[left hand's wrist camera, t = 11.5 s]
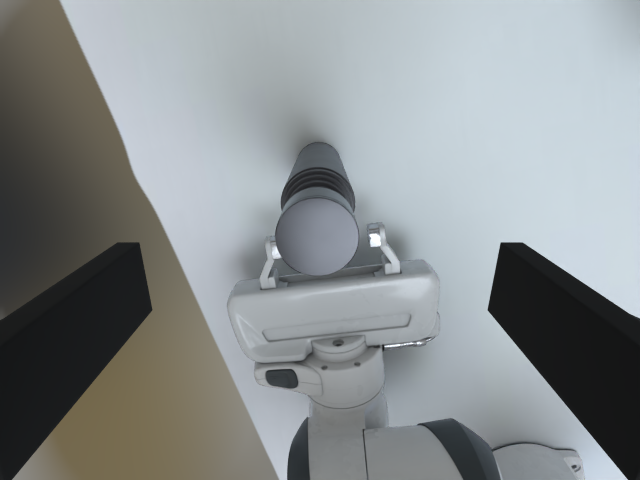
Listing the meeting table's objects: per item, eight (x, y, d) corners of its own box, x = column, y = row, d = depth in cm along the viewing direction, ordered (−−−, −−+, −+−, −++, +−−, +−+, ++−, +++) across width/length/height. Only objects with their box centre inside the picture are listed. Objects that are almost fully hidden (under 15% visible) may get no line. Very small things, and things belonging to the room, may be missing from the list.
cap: (328, 171, 17) (329, 180, 15) (368, 233, 18) (374, 249, 16) (265, 213, 18) (258, 227, 16) (307, 270, 19) (306, 289, 17)
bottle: (325, 133, 35) (331, 166, 15) (349, 171, 37) (384, 248, 17) (288, 158, 36) (248, 222, 16) (312, 195, 38) (304, 295, 18)
